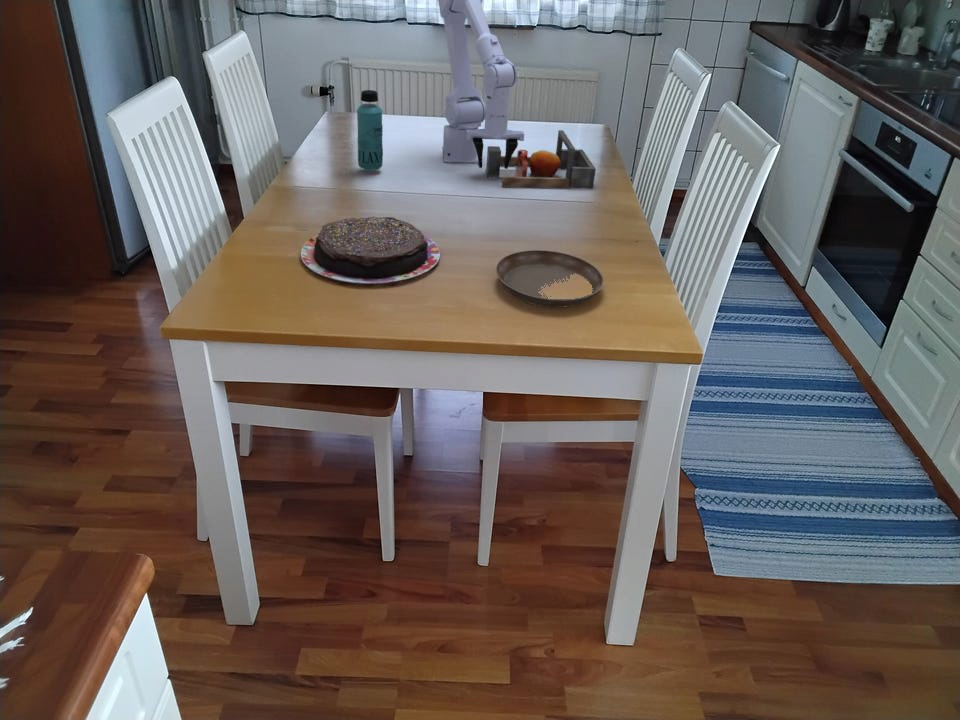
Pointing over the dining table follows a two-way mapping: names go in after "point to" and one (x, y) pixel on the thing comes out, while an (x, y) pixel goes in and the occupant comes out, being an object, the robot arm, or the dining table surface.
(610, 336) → the dining table surface
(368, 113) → the beverage bottle
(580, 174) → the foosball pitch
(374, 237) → the chocolate cake
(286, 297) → the dining table surface
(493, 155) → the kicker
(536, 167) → the fruit
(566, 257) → the plant saucer
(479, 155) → the robot arm
